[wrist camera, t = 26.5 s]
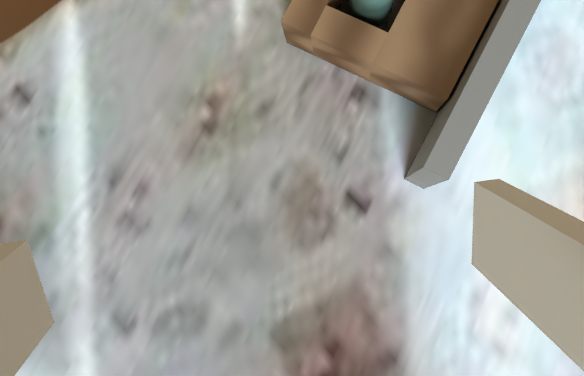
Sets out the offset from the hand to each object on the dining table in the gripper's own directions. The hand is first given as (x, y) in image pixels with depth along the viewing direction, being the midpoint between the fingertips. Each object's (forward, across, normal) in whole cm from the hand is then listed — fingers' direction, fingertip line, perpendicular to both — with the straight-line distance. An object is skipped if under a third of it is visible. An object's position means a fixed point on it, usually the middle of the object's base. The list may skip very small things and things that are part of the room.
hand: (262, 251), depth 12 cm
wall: (+28, -21, -3) cm, 36 cm away
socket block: (+31, -14, -7) cm, 35 cm away
